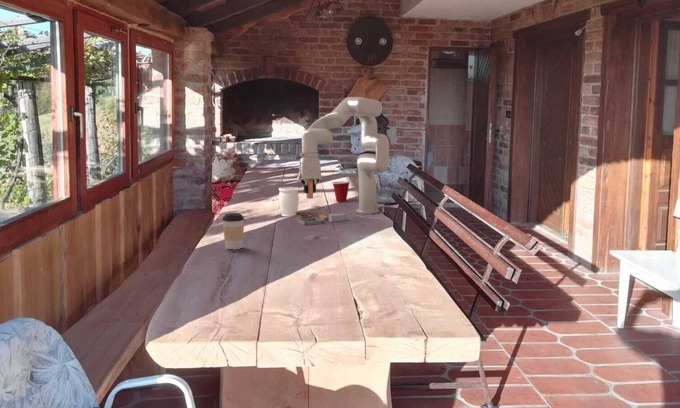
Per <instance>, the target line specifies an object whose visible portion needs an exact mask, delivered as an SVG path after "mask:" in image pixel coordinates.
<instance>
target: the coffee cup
mask: <svg viewBox="0 0 680 408" xmlns="http://www.w3.org/2000/svg"><path fill="white" fill-rule="evenodd" d="M244 220H245V216H244V215H242V213H239V212H230V213H226V214H224V216H222V222H223V223H222V228H223V237H224V244H225V249H226V248H229V249H240V248H242V249H243V247H244V246H243V245H244V243H243V240H244V230H245V228H244V227H245V225H244ZM240 250H241V249H240Z"/></svg>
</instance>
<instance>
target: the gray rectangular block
mask: <svg viewBox="0 0 680 408" xmlns="http://www.w3.org/2000/svg"><path fill="white" fill-rule="evenodd" d="M331 214H332V215H329V220H328V222H331V223H333V222H334V223H335V222H343V221H344V222H345V221H346V220H347V219H346V218H347V217H346V216H347V215H346V214H345V213H331Z"/></svg>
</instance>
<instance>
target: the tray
mask: <svg viewBox="0 0 680 408" xmlns="http://www.w3.org/2000/svg"><path fill="white" fill-rule="evenodd" d="M296 221H297V223H299V224H301V225H303V226H310V225H321V224H324V223H325V221H324V220H322V219H320V218H319V217H316V216H314V217H313V218H303V219H297V220H296Z"/></svg>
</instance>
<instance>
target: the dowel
mask: <svg viewBox="0 0 680 408" xmlns="http://www.w3.org/2000/svg"><path fill="white" fill-rule="evenodd" d="M307 185H308V193H306V199H311V200H312V199H314V193H313V179H308V181H307Z"/></svg>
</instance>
